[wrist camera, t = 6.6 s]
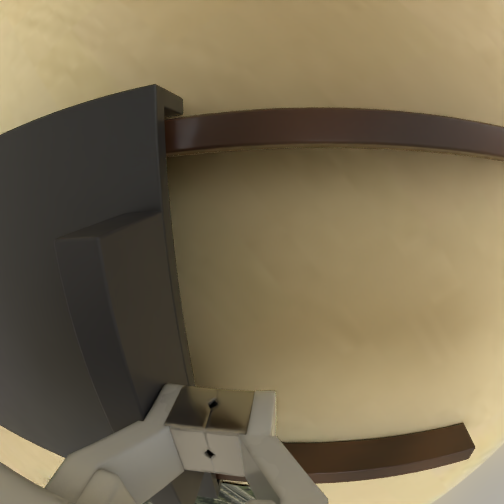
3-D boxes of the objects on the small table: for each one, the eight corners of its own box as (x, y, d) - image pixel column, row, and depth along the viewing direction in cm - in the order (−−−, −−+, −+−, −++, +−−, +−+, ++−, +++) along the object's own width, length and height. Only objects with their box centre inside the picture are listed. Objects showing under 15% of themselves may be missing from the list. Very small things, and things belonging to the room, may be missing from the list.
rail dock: (520, 139, 8) (551, 139, 6) (457, 434, 12) (468, 459, 10) (-72, 199, 13) (-91, 204, 11) (-22, 377, 17) (-36, 389, 15)
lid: (183, 98, 9) (90, 50, 4) (226, 467, 14) (205, 547, 9) (-57, 176, 11) (-118, 190, 6) (9, 405, 16) (-29, 444, 11)
